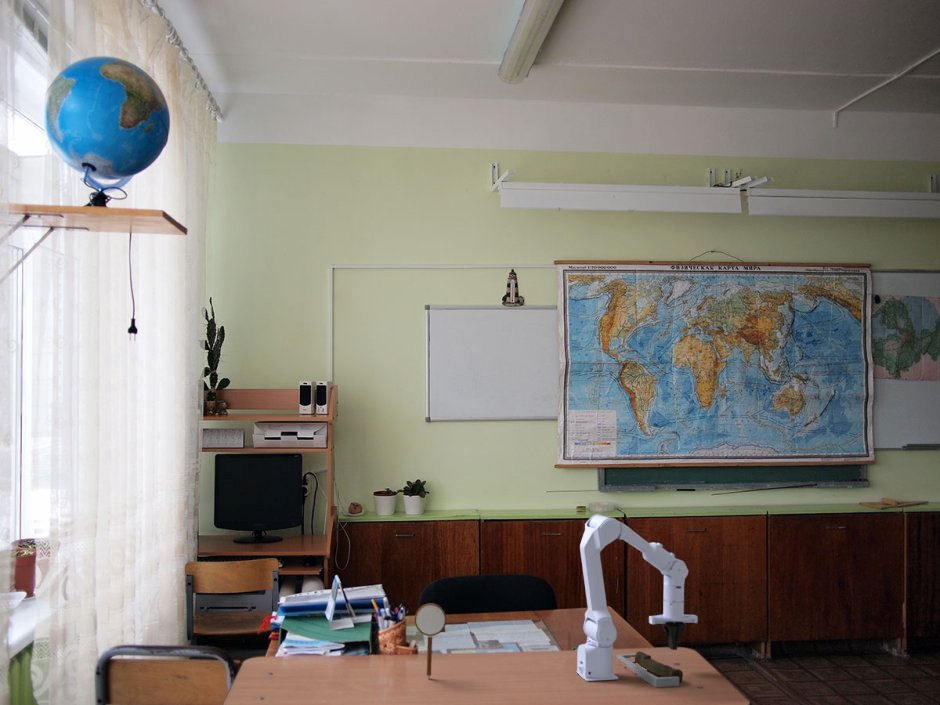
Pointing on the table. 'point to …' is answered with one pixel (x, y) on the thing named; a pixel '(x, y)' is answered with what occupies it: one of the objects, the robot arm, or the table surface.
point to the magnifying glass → (430, 626)
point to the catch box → (649, 674)
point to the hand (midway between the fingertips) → (673, 649)
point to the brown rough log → (657, 666)
